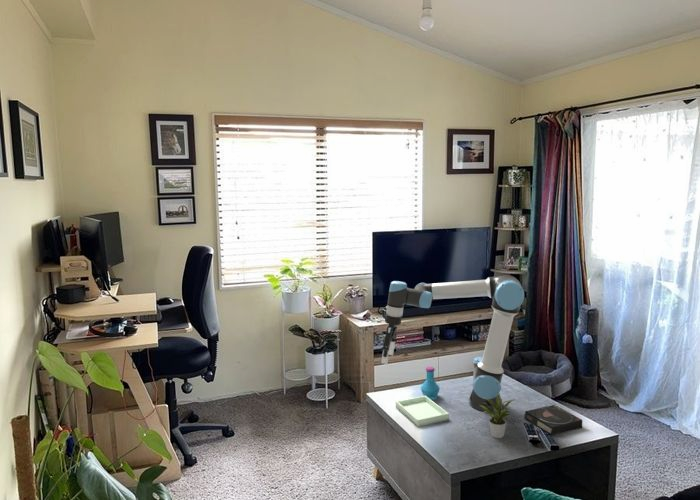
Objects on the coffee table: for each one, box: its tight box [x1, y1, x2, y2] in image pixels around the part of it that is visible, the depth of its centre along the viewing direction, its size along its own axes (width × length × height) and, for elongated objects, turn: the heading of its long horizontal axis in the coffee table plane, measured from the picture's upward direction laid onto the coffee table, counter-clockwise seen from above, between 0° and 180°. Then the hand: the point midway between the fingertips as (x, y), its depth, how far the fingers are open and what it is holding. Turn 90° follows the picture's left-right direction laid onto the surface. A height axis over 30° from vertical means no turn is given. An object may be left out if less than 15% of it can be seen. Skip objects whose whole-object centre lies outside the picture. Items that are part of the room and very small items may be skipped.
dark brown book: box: [524, 404, 583, 436], centre depth 227 cm, size 16×17×4 cm
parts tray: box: [395, 395, 450, 428], centre depth 239 cm, size 21×16×3 cm
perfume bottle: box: [420, 366, 440, 401], centre depth 256 cm, size 9×9×15 cm
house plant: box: [480, 395, 516, 439], centre depth 218 cm, size 14×14×16 cm
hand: (387, 358), depth 240 cm, fingers open, 13 cm apart
